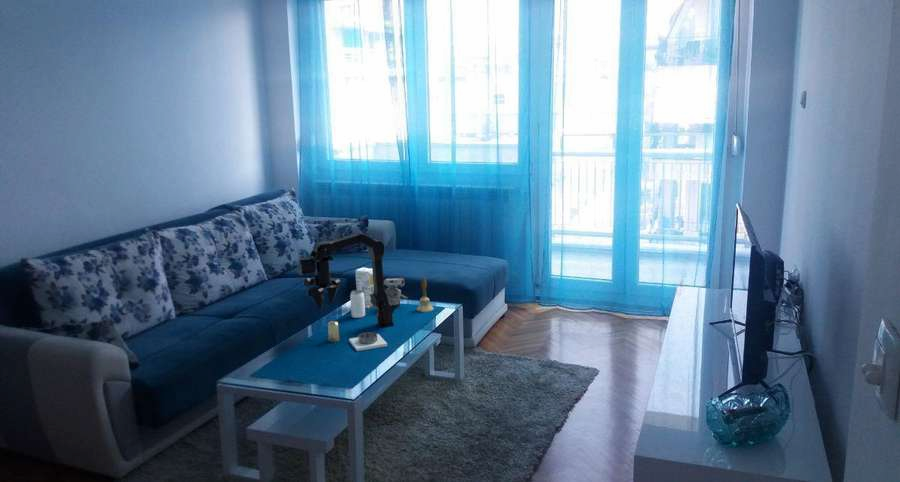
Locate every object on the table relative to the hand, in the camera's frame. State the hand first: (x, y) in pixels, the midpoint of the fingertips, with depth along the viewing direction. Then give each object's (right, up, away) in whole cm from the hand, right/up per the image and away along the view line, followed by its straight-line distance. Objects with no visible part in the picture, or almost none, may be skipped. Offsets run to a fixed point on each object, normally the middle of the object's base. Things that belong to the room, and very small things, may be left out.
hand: (325, 306), depth 300 cm
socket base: (+19, -15, -8) cm, 26 cm away
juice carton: (+12, -4, +45) cm, 47 cm away
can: (+10, -8, +30) cm, 32 cm away
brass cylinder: (+4, -14, -2) cm, 15 cm away
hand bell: (+42, -5, +37) cm, 56 cm away
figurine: (+27, -5, +41) cm, 49 cm away
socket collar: (+19, -14, -8) cm, 25 cm away
